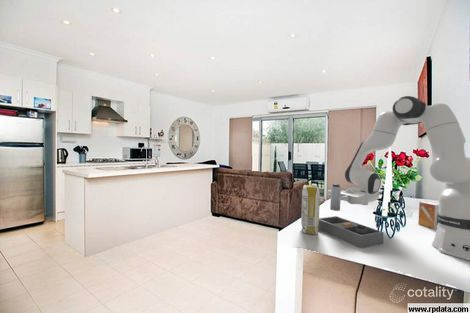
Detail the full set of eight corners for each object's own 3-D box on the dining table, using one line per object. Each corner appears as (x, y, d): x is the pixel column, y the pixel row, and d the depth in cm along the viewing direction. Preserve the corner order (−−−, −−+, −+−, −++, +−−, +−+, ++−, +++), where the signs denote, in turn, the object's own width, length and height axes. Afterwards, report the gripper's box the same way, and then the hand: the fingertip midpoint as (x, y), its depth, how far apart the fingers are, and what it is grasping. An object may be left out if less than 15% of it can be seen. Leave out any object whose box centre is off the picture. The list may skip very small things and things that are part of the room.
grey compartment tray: (383, 243, 100) (383, 230, 100) (360, 247, 94) (361, 234, 94) (335, 225, 124) (336, 215, 124) (316, 227, 118) (316, 217, 118)
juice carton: (319, 235, 107) (321, 185, 107) (302, 234, 109) (303, 184, 108) (316, 229, 117) (317, 182, 116) (300, 227, 118) (301, 182, 118)
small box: (418, 224, 129) (419, 201, 128) (425, 223, 131) (426, 201, 130) (434, 229, 121) (435, 205, 121) (442, 228, 123) (443, 204, 123)
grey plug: (342, 210, 115) (343, 185, 114) (335, 211, 113) (336, 185, 112) (334, 208, 119) (335, 183, 118) (328, 208, 117) (329, 184, 117)
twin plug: (369, 237, 101) (369, 227, 101) (361, 238, 99) (362, 228, 99) (359, 234, 105) (360, 223, 105) (352, 235, 103) (353, 224, 103)
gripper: (338, 186, 130) (319, 187, 125) (371, 193, 111) (351, 194, 106) (337, 197, 130) (319, 199, 125) (371, 205, 111) (351, 208, 106)
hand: (334, 197), depth 115 cm, fingers closed on grey plug, 5 cm apart
